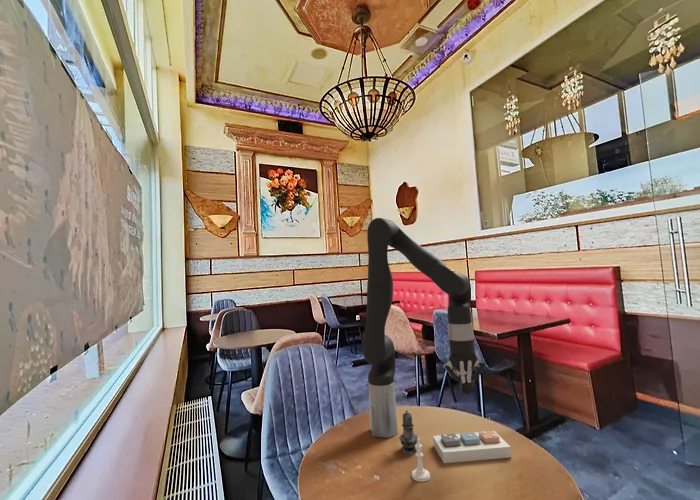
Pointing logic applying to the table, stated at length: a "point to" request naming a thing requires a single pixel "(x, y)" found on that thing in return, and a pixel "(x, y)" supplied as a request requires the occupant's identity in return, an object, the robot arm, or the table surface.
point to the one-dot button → (469, 439)
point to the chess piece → (420, 466)
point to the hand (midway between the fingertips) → (466, 394)
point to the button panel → (471, 450)
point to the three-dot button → (450, 440)
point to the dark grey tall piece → (408, 435)
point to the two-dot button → (489, 437)
